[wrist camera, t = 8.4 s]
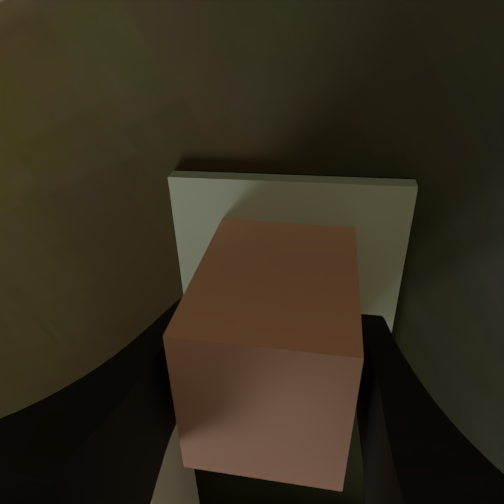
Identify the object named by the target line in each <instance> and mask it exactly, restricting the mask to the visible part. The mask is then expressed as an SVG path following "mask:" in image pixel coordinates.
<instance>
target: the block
mask: <svg viewBox="0 0 504 504" xmlns="http://www.w3.org/2000/svg"><path fill="white" fill-rule="evenodd" d="M163 342H164V348H165V354H166V360H167V366H168V373H169V379H170V385H171V391H172V397H173V404H174V410H175V416H176V422H177V428H178V434H179V441H180V447H181V453H182V459H183V465H184V467H187V468H194V469H200V470H207V471H213V472H219V473H226V474H232V475H239V476H245V477H251V478H258V479H264V480H271V481H277V482H284V483H290V484H296V485H303V486H309V487H316V488H322V489H329V490H335V491H341V492H342V490H343V484H344V478H345V472H346V466H347V460H348V453H349V447H350V441H351V435H352V429H353V423H354V416H355V410H356V404H357V398H358V392H359V386H360V379H361V373H362V367H363V361H364V352H363V337H362V322H361V306H360V291H359V276H358V260H357V245H356V230H355V227H345V226H329V225H314V224H298V223H283V222H267V221H252V220H237V219H221V221H220V223H219V225H218V227H217V229H216V231H215V233H214V235H213V237H212V239H211V241H210V243H209V245H208V247H207V249H206V251H205V253H204V255H203V257H202V259H201V261H200V263H199V265H198V267H197V269H196V271H195V273H194V275H193V277H192V279H191V281H190V283H189V285H188V287H187V289H186V291H185V293H184V295H183V297H182V299H181V301H180V303H179V305H178V307H177V309H176V311H175V313H174V315H173V317H172V319H171V321H170V323H169V325H168V327H167V329H166V331H165V333H164V335H163Z"/></svg>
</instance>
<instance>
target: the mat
mask: <svg viewBox="0 0 504 504" xmlns="http://www.w3.org/2000/svg"><path fill="white" fill-rule="evenodd" d="M168 183H169V190H170V198H171V205H172V213H173V220H174V227H175V235H176V242H177V250H178V257H179V264H180V272H181V279H182V287H183V294H184V293H185V291H186V289H187V287H188V285H189V283H190V281H191V279H192V277H193V275H194V273H195V271H196V269H197V267H198V265H199V263H200V261H201V259H202V257H203V255H204V253H205V251H206V249H207V247H208V245H209V243H210V241H211V239H212V237H213V235H214V233H215V231H216V229H217V227H218V225H219V223H220V221H221V219H237V220H252V221H267V222H283V223H298V224H314V225H329V226H345V227H355V230H356V245H357V260H358V276H359V291H360V306H361V314H368V315H380V316H383V317H384V319H385V320H386V323H387V325H388V327H389V329H390V331H391V333H392V328H393V322H394V317H395V311H396V306H397V300H398V295H399V289H400V284H401V278H402V273H403V268H404V262H405V257H406V251H407V246H408V240H409V235H410V229H411V224H412V218H413V213H414V207H415V202H416V196H417V191H418V185H417V182H416V180H415V179H389V178H362V177H335V176H307V175H280V174H253V173H226V172H198V171H173V172H172V173H171V174H170V175H169V176H168Z"/></svg>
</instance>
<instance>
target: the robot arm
mask: <svg viewBox="0 0 504 504" xmlns="http://www.w3.org/2000/svg"><path fill="white" fill-rule="evenodd" d="M180 301H181V299H179V300H178V301H177V302H175V303H174V304H173V305H172V306H171V307H170V308H169V309H168V310H167V311H166V312H165V313H163V314H162V315H161V316H160V317H159V318H158V319H157V320H156V321H155V322H154V323H153V324H152V325H150V326H149V327H148V328H147V329H146V330H145V331H144V332H142V333H141V334H140V335H139V336H138V337H137V338H136V339H134V340H133V341H132V342H131V343H130V344H128V345H127V346H126V347H125V348H123V349H122V350H121V351H120V352H118V353H117V354H116V355H115V356H113V357H112V358H111V359H109V360H108V361H106V362H105V363H104V364H102V365H101V366H99V367H98V368H96V369H95V370H93V371H92V372H90V373H89V374H87V375H85V376H84V377H82V378H81V379H79V380H77V381H75V382H74V383H72V384H70V385H68V386H67V387H65V388H63V389H62V390H60V391H58V392H56V393H54V394H53V395H51V396H49V397H47V398H45V399H43V400H41V401H39V402H37V403H35V404H32V405H30V406H28V407H26V408H24V409H22V410H20V411H17V412H15V413H13V414H10V415H8V416H5V417H3V418H1V419H0V504H151V500H152V497H153V493H154V490H155V486H156V482H157V479H158V476H159V472H160V469H161V465H162V462H163V459H164V455H165V452H166V449H167V446H168V443H169V441H170V438H171V435H172V433H173V430H174V428H175V426H176V423H177V422H176V416H175V410H174V404H173V397H172V391H171V385H170V379H169V373H168V366H167V360H166V354H165V348H164V342H163V335H164V333H165V331H166V329H167V327H168V325H169V323H170V321H171V319H172V317H173V315H174V313H175V311H176V309H177V307H178V305H179V303H180ZM361 322H362V337H363V352H364V361H363V367H362V373H361V379H360V386H359V392H358V398H357V404H356V408H357V417H358V425H359V434H360V442H361V451H362V459H363V471H364V497H365V504H504V474H503V473H502V472H501V471H500V470H499V469H498V468H496V467H495V466H494V465H493V464H492V463H491V462H490V461H489V460H488V459H487V458H486V457H485V456H484V455H483V454H482V453H481V452H480V451H479V450H478V449H477V448H476V447H475V446H474V445H473V444H472V443H471V442H470V441H469V440H468V439H467V438H466V437H465V436H464V435H463V434H462V433H461V432H460V431H459V430H458V428H457V427H456V426H455V425H454V424H453V423H452V422H451V421H450V419H449V418H448V417H447V416H446V415H445V413H444V412H443V411H442V410H441V409H440V407H439V406H438V405H437V404H436V402H435V401H434V400H433V398H432V397H431V396H430V394H429V393H428V392H427V390H426V389H425V387H424V386H423V385H422V383H421V382H420V380H419V379H418V377H417V376H416V374H415V373H414V371H413V370H412V368H411V367H410V365H409V363H408V362H407V360H406V358H405V357H404V355H403V353H402V352H401V350H400V348H399V346H398V345H397V343H396V341H395V339H394V337H393V335H392V333H391V331H390V329H389V327H388V325H387V323H386V320H385V319H384V317H383V316H380V315H368V314H361Z"/></svg>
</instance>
